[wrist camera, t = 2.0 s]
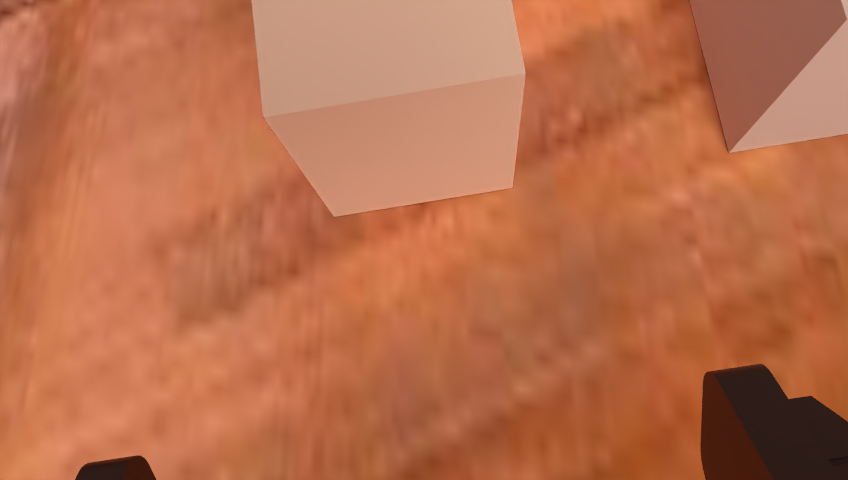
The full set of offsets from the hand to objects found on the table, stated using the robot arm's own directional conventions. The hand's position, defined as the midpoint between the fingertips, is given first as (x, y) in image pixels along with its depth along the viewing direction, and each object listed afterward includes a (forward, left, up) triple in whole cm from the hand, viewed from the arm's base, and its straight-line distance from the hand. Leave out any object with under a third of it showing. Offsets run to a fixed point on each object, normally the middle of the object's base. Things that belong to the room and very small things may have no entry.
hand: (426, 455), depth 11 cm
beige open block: (0, +11, -15) cm, 18 cm away
